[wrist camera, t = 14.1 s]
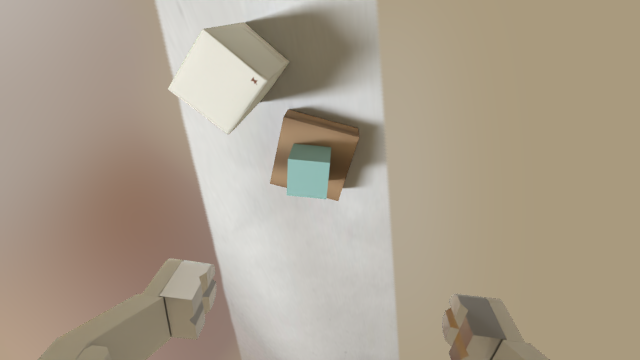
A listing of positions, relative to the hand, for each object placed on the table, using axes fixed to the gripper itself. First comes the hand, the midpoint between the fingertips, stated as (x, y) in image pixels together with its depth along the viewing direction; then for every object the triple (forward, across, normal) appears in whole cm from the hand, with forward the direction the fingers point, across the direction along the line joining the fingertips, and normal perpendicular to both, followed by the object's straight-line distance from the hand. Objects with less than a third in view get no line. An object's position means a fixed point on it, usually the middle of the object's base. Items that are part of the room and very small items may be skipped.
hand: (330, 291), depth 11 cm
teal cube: (+32, +3, +10) cm, 33 cm away
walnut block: (+36, +3, +10) cm, 37 cm away
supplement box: (+35, +12, -1) cm, 37 cm away
